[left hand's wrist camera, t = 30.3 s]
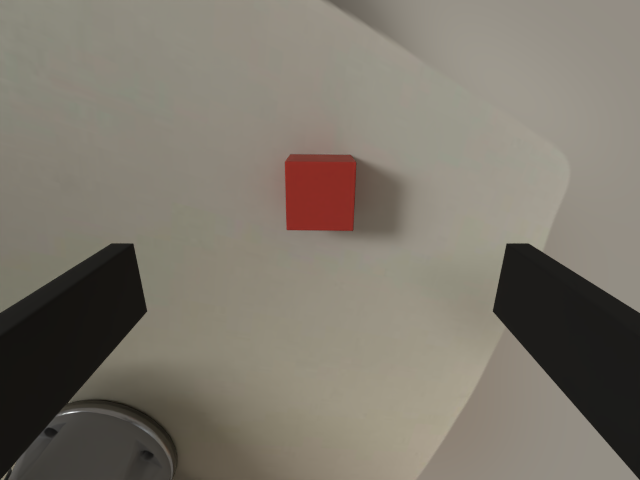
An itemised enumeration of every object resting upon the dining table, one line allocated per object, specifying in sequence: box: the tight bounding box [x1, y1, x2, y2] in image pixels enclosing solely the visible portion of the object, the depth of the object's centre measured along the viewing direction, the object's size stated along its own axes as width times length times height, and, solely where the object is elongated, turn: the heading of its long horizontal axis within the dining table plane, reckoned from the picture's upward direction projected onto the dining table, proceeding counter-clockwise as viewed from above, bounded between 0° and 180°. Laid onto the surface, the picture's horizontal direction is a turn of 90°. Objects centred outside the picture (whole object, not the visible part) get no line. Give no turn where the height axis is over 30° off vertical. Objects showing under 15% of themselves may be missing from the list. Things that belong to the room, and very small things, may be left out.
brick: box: [285, 154, 356, 231], centre depth 26 cm, size 5×5×4 cm
